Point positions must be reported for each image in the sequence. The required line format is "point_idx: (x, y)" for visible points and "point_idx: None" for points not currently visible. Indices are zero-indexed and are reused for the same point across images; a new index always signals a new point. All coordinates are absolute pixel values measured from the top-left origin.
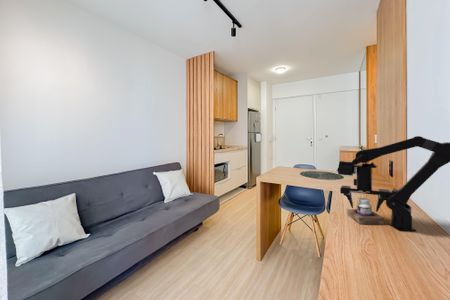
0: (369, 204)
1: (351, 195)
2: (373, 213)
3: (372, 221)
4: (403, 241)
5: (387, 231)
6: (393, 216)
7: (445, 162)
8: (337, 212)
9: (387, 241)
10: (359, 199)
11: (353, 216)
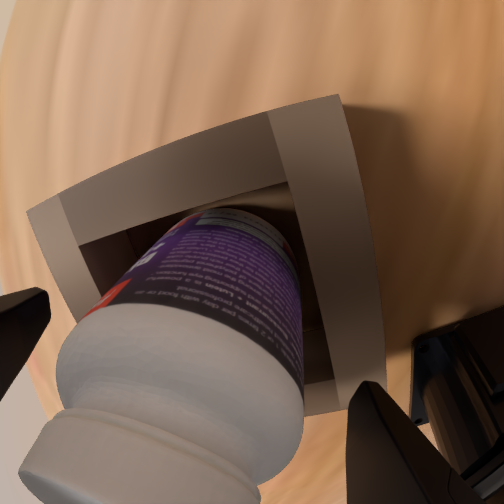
0: (252, 480)
1: None
2: (339, 300)
3: None
4: (343, 488)
5: (329, 440)
6: (445, 449)
7: None
8: (10, 139)
9: (272, 497)
10: (44, 497)
11: None
